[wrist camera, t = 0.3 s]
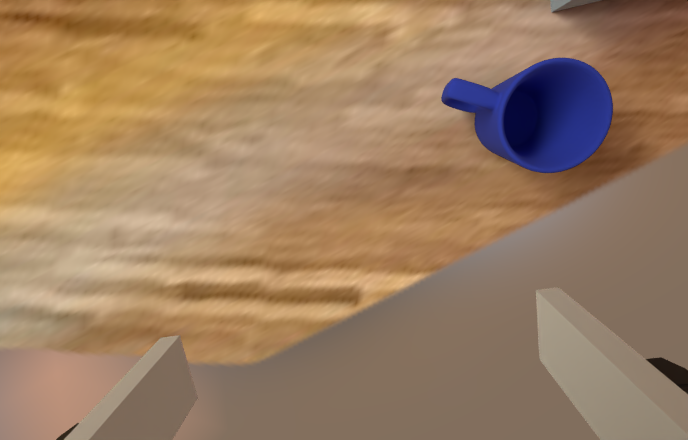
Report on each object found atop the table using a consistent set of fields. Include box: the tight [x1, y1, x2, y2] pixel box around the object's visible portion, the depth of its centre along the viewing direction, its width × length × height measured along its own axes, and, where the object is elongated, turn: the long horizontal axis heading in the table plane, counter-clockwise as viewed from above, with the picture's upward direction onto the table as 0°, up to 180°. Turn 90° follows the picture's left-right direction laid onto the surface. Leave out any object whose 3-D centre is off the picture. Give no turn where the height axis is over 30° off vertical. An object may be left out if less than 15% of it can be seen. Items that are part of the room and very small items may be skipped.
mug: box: [442, 58, 613, 173], centre depth 33 cm, size 8×12×10 cm
